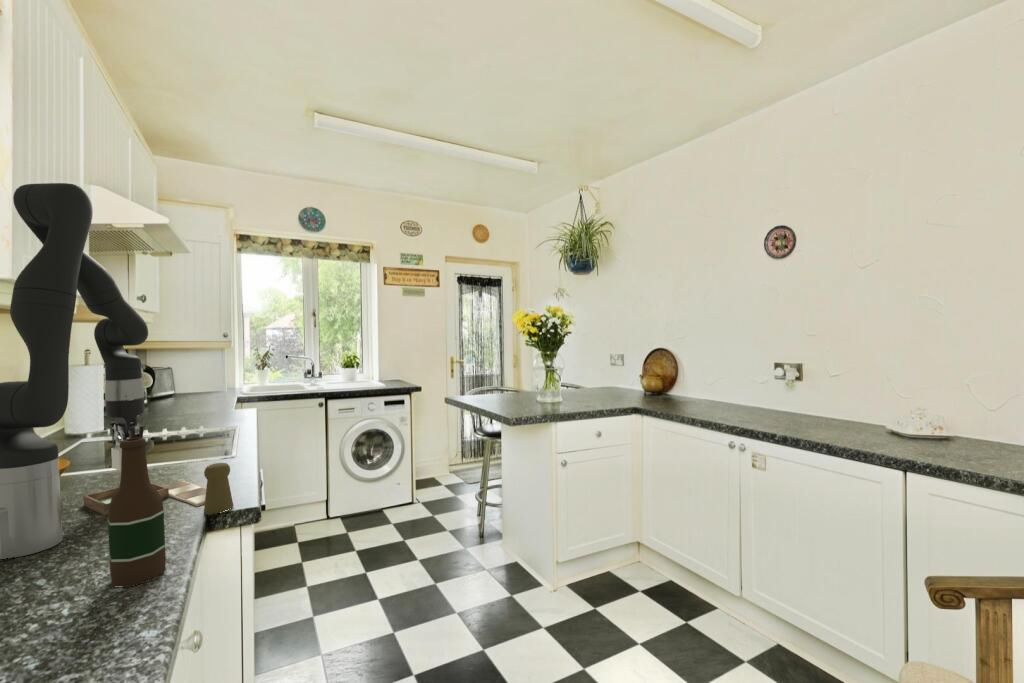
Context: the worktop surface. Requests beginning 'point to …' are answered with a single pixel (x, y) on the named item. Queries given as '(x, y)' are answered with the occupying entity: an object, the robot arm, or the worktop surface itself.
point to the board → (187, 492)
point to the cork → (217, 489)
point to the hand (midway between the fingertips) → (128, 463)
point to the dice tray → (103, 498)
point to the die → (116, 457)
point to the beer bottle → (135, 521)
